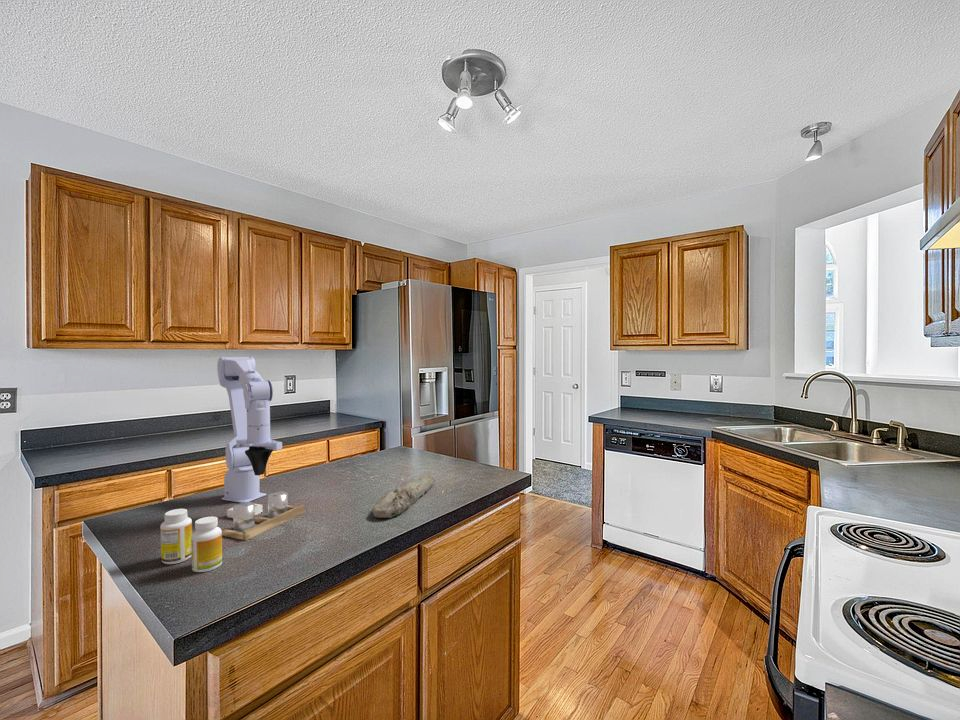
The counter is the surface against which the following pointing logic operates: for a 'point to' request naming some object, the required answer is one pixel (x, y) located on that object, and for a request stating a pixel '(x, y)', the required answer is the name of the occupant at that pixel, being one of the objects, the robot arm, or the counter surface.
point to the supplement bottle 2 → (206, 545)
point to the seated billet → (277, 503)
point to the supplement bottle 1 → (176, 537)
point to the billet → (243, 516)
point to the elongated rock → (402, 497)
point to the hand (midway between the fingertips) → (259, 474)
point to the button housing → (257, 510)
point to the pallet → (265, 523)
